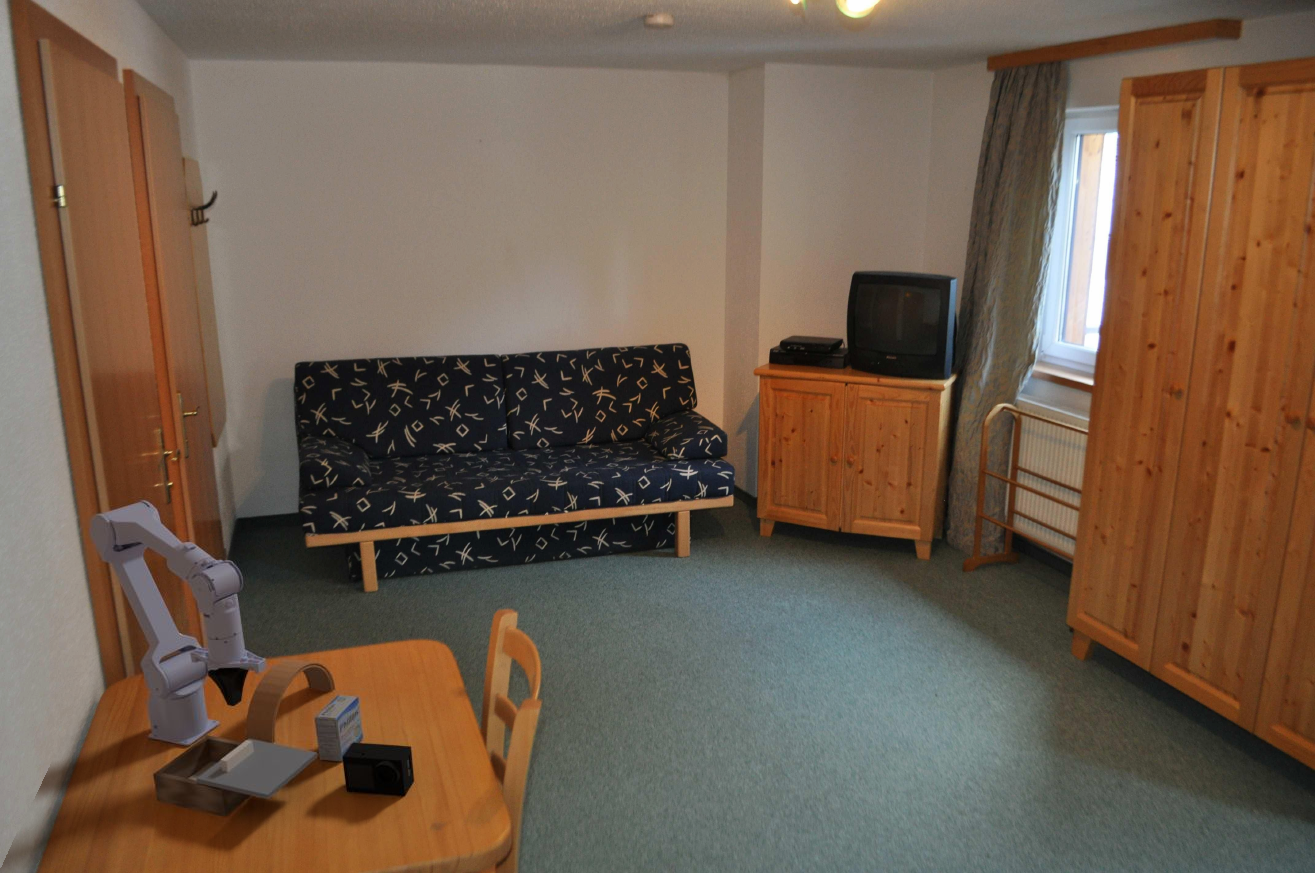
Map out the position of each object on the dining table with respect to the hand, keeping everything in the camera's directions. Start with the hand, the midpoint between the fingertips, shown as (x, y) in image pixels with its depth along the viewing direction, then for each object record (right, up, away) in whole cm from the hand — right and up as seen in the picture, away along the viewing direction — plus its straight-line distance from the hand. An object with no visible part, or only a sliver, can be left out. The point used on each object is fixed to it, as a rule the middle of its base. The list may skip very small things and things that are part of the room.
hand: (234, 702), depth 170 cm
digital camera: (+27, -13, -7) cm, 31 cm away
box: (0, -12, -6) cm, 14 cm away
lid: (+9, -8, -11) cm, 16 cm away
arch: (+4, -7, +16) cm, 18 cm away
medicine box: (+17, -10, +4) cm, 20 cm away
